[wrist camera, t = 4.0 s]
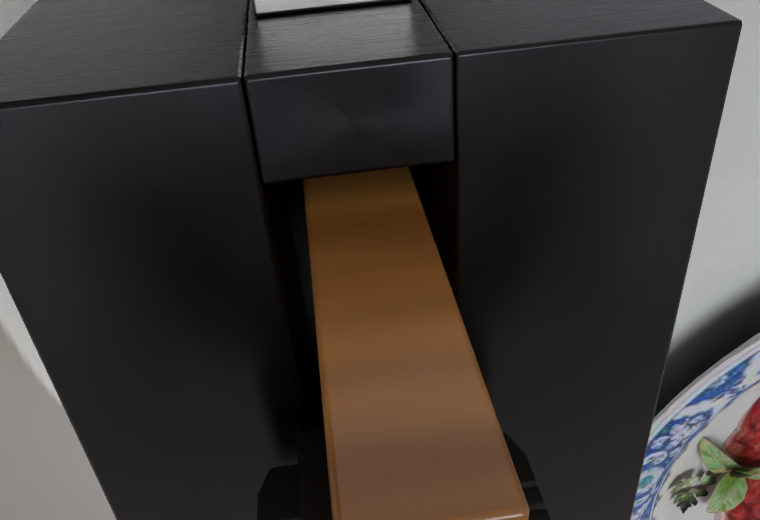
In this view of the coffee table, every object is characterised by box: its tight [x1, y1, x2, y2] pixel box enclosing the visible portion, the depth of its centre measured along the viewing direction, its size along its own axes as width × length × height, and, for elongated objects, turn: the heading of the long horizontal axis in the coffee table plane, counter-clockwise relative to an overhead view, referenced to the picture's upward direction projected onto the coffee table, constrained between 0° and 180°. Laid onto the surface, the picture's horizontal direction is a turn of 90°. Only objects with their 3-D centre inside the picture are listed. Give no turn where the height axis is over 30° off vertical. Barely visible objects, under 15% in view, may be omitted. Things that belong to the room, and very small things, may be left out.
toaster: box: [0, 0, 742, 520], centre depth 17 cm, size 15×10×11 cm, turn 4°
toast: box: [303, 167, 529, 520], centre depth 13 cm, size 10×2×10 cm, turn 4°
